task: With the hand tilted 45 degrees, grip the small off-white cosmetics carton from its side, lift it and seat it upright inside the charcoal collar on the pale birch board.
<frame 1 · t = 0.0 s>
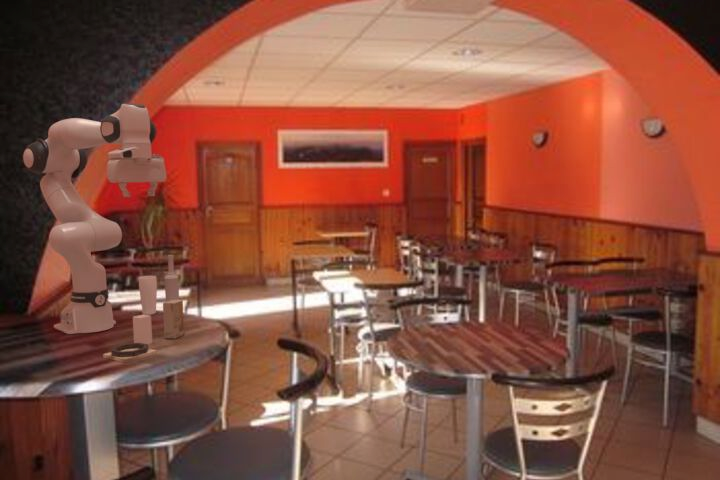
hand: (139, 196, 195), 48 cm above the table, tool pointing down, fingers open, 8 cm apart
skincare box: (174, 337, 204), on the table
bottle: (173, 320, 228), on the table
board: (130, 355, 182), on the table
carton: (143, 343, 196), on the table
drinking glass: (149, 314, 240), on the table
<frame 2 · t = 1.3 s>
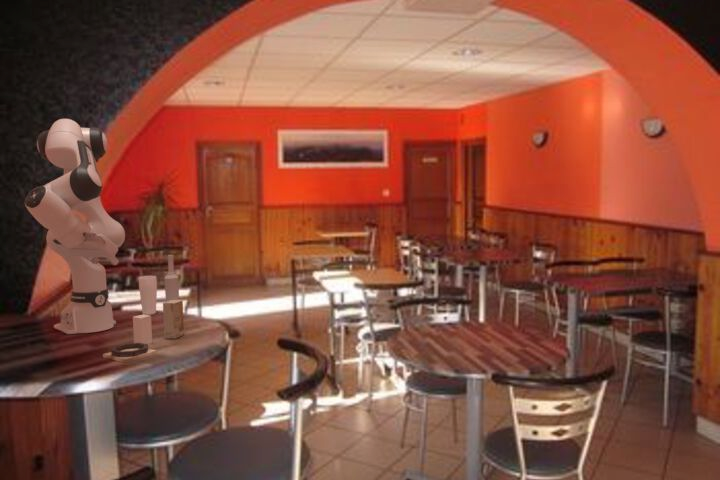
hand: (106, 262, 183), 28 cm above the table, tool tilted 45°, fingers open, 8 cm apart
nothing on the table moved.
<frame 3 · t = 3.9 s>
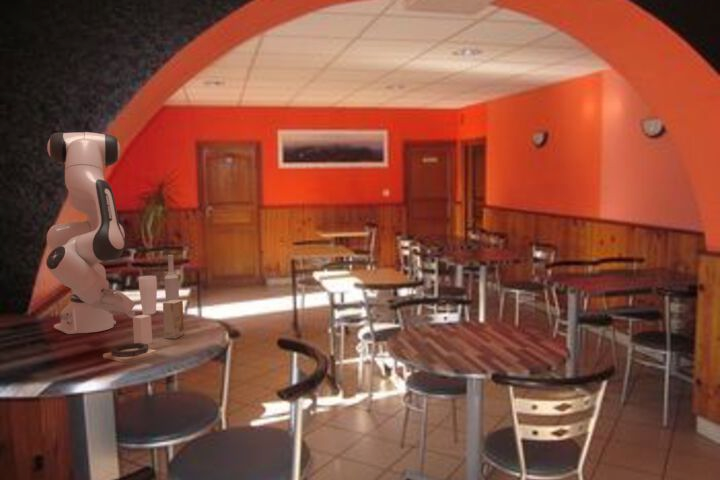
hand: (123, 314, 189), 11 cm above the table, tool tilted 45°, fingers open, 8 cm apart
nothing on the table moved.
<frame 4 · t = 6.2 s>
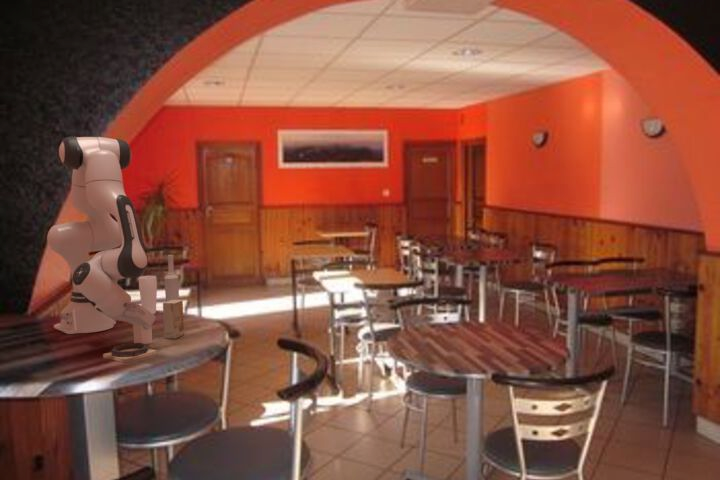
hand: (144, 326, 196), 5 cm above the table, tool tilted 45°, fingers closed on carton, 4 cm apart
carton: (143, 343, 196), on the table, touching gripper
everything else where it was.
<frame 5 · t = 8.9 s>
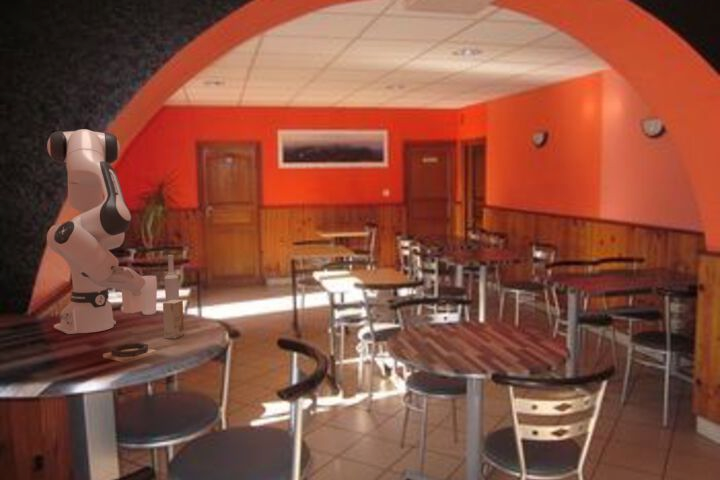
hand: (133, 293, 184), 18 cm above the table, tool tilted 45°, fingers closed on carton, 4 cm apart
carton: (132, 311, 183), point 13 cm above the table, touching gripper
everything else where it was.
when the fingers open (8 cm above the table, at t = 11.8 s): carton drops 1 cm, resting on board.
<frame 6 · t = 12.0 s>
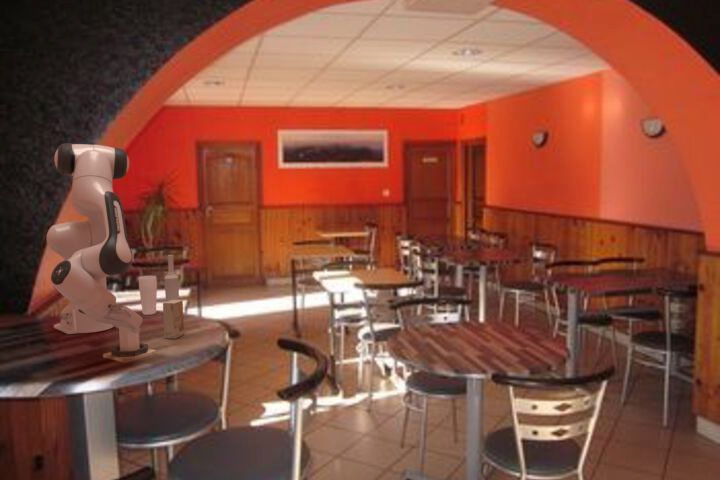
hand: (130, 329, 182), 8 cm above the table, tool tilted 45°, fingers open, 6 cm apart
carton: (130, 352, 182), point 1 cm above the table, touching board
everything else where it was.
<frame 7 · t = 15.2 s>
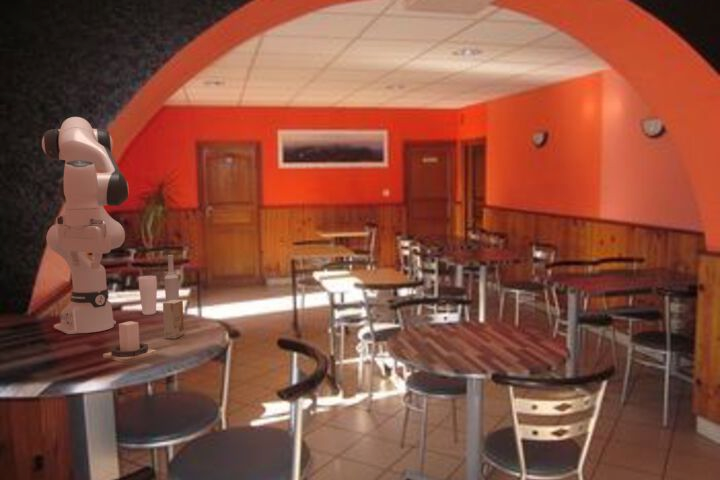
hand: (85, 267, 169), 29 cm above the table, tool pointing down, fingers open, 8 cm apart
nothing on the table moved.
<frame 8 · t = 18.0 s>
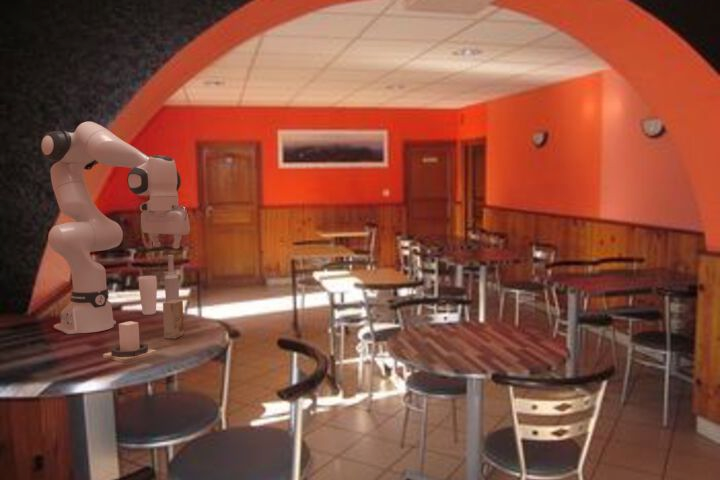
hand: (166, 247, 196), 31 cm above the table, tool pointing down, fingers open, 8 cm apart
nothing on the table moved.
at the end: carton 0.1 cm off-centre on the board, point 1.0 cm above the board's base; carton tilted 0°; the gripper is holding nothing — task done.
